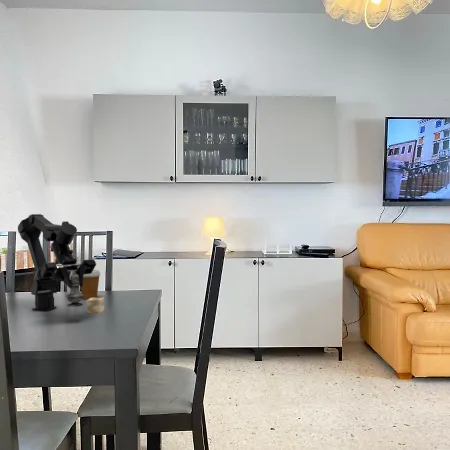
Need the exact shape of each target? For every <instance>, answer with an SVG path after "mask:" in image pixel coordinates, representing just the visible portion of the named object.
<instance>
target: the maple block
mask: <svg viewBox="0 0 450 450" xmlns="http://www.w3.org/2000/svg"><path fill="white" fill-rule="evenodd" d="M104 311H105V298H104V297H97V298H90V299H86V312H87V313H86V314H101V313H102V312H104Z"/></svg>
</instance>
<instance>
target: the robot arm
mask: <svg viewBox="0 0 450 450" xmlns="http://www.w3.org/2000/svg"><path fill="white" fill-rule="evenodd" d="M17 232H18V234H19V236H20V239H21V240H23V241H24V242H25V243H26V244H27V246H28V250H29V253H30V257H31V260H32V263H33V266H34V270H35V275H34V278H33V282H32V285H31V288H30V293H31V295H33V296H34V306H35V307H33V308H32V311H44V312H47V311H50V310H54V309H57V306H56V305H55V297H54V294H57V293H58V290H59V289H58V288H59V283H60V282H63V283H64V285H66V286H67V287H68V288H69V289H70V288H72V283H71V280H70V277H71V275H72V272H74V271H75V272H76V273H75V274H77V275H79V284H80V285H79V288H81V287H82V286H83V275H84V274H91V273H92V272H93V270H95V267H96V266H97V262H96V261H95V259H93V258H91V259H84V260H83V261H82V262H81V264H80V263H77V261H78V260H77V258H74V255H73V254H74V250H73V249H71V248H70V245H71V244H72V243H73V240H74V239H75V236H76V235H77V232H78V229H77V227H76V226H75V225H74V224H72V223H69V221H62V222H61V224H56V223H55V224H54V223H52V221H50V220H48V219H47V218H46V217H44V214H41V213H40V214H39V213H33V214H29V215H28V217H27V218H24V219H22V220H21V221H20V222H19V224H18V225H17ZM41 233H43V234H42V237H43V238H44V240H45V241H46V242H48V243H49V242H52V243H51V246H50V252H52V253H54V256H55V260H54V261H53V262H52V261H51V262H47V259H46V256H45V253H44V250H43V247H42V246H43V245H42V243H41V240H40V236H41Z"/></svg>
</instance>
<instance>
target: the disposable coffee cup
mask: <svg viewBox="0 0 450 450" xmlns="http://www.w3.org/2000/svg"><path fill="white" fill-rule="evenodd" d="M100 276H101V272H100V269H99V270H98V269H94V270H93V272H92V273H91V274H84V275H83V286H82V287H80V290H81V291H80V293H81V294H83V298H82V300H88V299H90V298H98V292H99V283H100Z"/></svg>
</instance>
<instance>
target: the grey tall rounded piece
mask: <svg viewBox="0 0 450 450" xmlns="http://www.w3.org/2000/svg"><path fill="white" fill-rule="evenodd" d="M70 280H71V283H72V288H69V289H70V290H69V292H68V294H66V295H65V296H66V299H67V301H68V304H66V306H67V307H69V308H70V307H71V308H77V307H81V306H83V305H84V304H83V303H82V302H81V301H82V300H83V299H82V298H83V294H82V292H81V291H80V290H81V289H80V284H79V275H77V274H76V272H75V271H73V274H72V273H71V274H70Z"/></svg>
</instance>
